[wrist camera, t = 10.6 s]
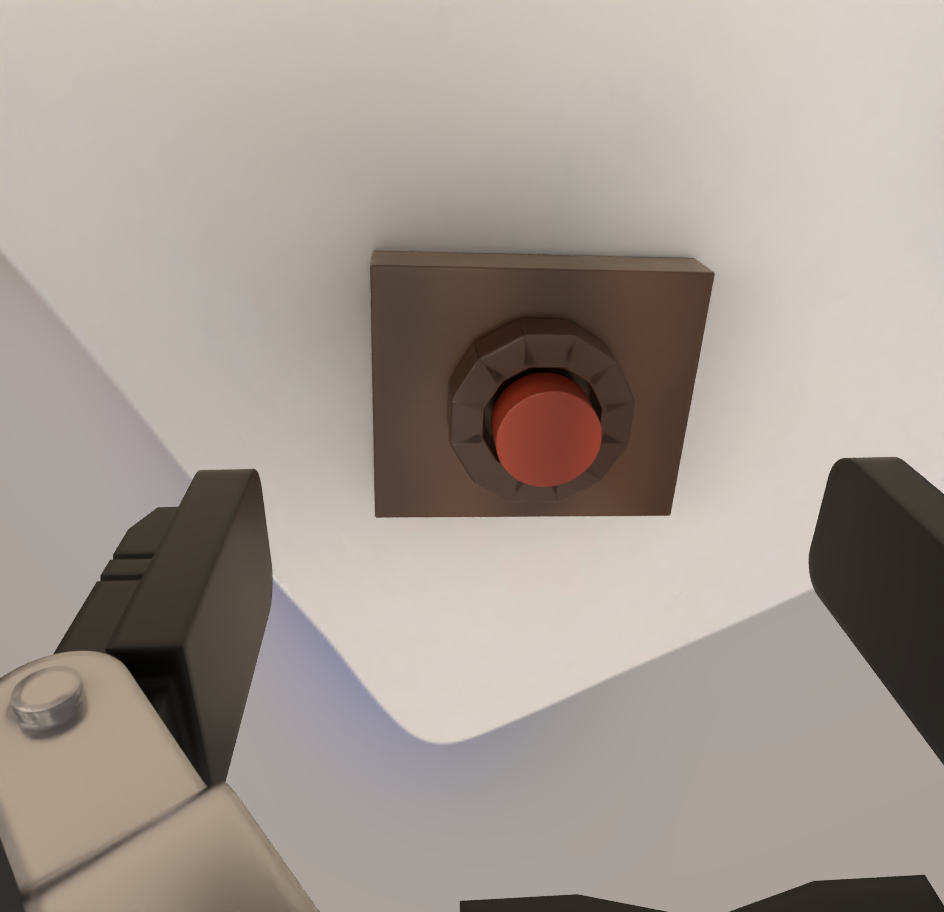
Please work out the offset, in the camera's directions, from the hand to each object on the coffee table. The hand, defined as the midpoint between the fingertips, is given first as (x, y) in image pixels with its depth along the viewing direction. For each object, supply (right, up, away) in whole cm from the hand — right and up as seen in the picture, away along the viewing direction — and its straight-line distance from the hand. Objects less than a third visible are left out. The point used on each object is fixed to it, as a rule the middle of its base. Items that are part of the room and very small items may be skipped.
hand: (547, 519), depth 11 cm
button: (+1, +2, +17) cm, 17 cm away
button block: (+1, +4, +20) cm, 20 cm away
